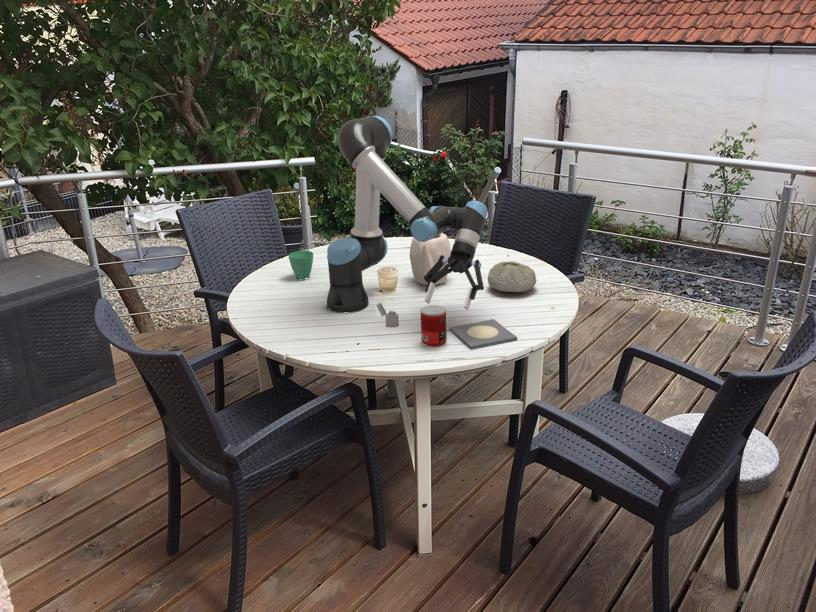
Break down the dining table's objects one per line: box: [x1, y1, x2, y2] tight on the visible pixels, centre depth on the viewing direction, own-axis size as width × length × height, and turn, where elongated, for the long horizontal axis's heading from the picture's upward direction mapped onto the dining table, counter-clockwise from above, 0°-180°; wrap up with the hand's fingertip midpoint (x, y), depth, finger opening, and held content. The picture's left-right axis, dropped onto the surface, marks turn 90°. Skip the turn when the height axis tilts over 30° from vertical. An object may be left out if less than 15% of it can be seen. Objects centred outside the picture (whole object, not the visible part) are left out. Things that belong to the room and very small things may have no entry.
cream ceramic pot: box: [409, 232, 452, 286], centre depth 263 cm, size 16×27×19 cm, turn 169°
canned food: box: [420, 304, 448, 347], centre depth 213 cm, size 8×8×11 cm
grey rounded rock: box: [487, 260, 537, 293], centre depth 254 cm, size 18×18×10 cm
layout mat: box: [449, 318, 518, 350], centre depth 218 cm, size 16×16×1 cm
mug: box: [288, 248, 314, 279], centre depth 277 cm, size 15×10×10 cm
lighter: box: [375, 302, 400, 328], centre depth 227 cm, size 7×2×8 cm, turn 77°
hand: (446, 305), depth 215 cm, fingers open, 13 cm apart
